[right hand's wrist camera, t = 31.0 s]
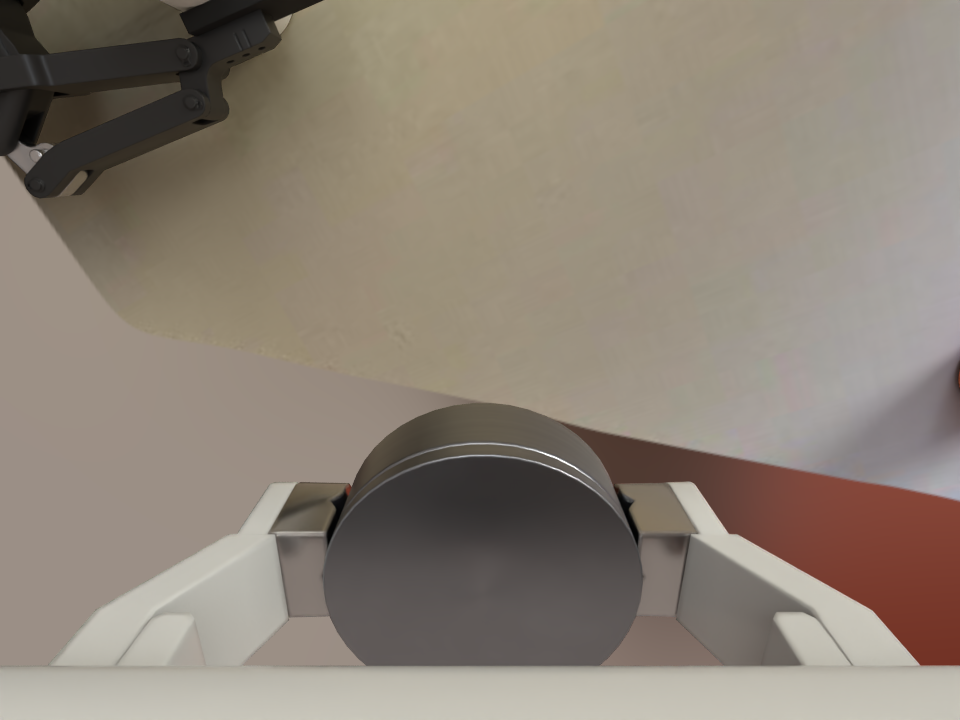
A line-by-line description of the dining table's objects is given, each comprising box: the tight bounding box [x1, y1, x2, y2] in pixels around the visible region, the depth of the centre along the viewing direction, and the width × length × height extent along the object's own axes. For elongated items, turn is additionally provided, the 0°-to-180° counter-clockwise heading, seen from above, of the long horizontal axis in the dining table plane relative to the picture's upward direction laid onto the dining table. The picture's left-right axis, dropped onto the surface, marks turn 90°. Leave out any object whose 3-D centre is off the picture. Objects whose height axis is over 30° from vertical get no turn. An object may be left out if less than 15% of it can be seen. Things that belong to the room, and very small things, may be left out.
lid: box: [323, 403, 643, 666], centre depth 9 cm, size 5×5×2 cm
